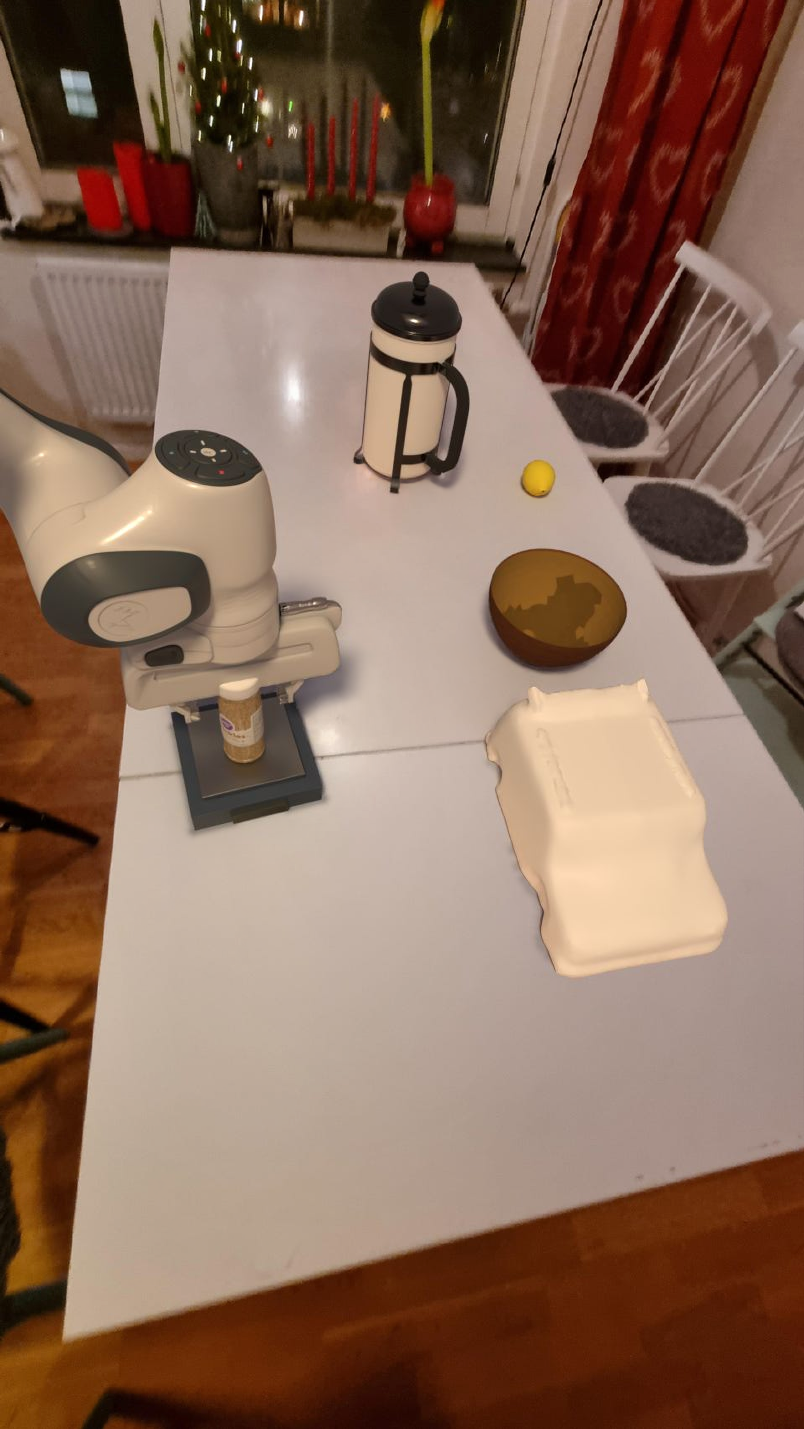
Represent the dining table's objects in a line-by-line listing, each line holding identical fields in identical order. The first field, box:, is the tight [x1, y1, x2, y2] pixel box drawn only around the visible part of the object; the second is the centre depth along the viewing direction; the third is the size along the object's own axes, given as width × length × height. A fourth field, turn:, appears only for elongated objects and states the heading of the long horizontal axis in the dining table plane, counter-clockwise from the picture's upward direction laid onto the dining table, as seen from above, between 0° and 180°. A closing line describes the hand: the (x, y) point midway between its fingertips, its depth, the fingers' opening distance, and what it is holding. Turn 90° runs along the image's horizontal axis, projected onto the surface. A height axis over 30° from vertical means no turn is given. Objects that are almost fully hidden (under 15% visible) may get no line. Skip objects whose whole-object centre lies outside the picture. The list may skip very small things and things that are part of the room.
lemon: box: [521, 459, 556, 497], centre depth 115 cm, size 7×5×5 cm
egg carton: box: [484, 676, 729, 979], centre depth 74 cm, size 19×30×13 cm, turn 12°
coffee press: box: [353, 270, 471, 494], centre depth 104 cm, size 17×16×30 cm
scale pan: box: [187, 697, 305, 801], centre depth 77 cm, size 11×11×1 cm
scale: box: [170, 691, 323, 831], centre depth 79 cm, size 14×15×3 cm
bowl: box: [488, 548, 628, 669], centre depth 92 cm, size 18×18×10 cm
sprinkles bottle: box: [216, 678, 265, 763], centre depth 71 cm, size 5×5×14 cm
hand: (239, 707), depth 71 cm, fingers open, 8 cm apart
